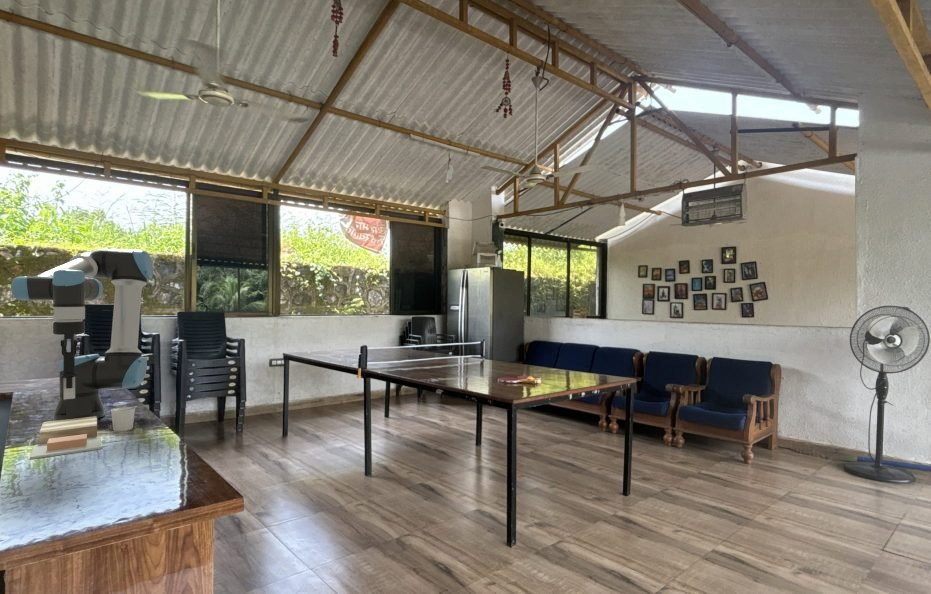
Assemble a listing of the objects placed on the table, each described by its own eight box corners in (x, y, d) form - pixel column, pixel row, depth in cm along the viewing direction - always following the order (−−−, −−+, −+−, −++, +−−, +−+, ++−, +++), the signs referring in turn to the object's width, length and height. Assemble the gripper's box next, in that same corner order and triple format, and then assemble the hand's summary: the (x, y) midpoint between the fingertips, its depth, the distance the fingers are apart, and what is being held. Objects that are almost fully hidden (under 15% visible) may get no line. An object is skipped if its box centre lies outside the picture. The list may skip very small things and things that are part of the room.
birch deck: (43, 434, 162) (43, 422, 162) (96, 427, 170) (96, 416, 170) (39, 445, 149) (39, 432, 149) (97, 438, 158) (97, 425, 158)
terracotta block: (46, 443, 142) (46, 451, 142) (86, 438, 148) (86, 445, 147) (48, 438, 147) (48, 446, 147) (86, 433, 152) (86, 441, 152)
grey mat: (34, 447, 148) (34, 445, 148) (100, 438, 157) (100, 436, 157) (29, 459, 137) (29, 457, 137) (101, 448, 146) (101, 446, 146)
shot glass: (113, 427, 171) (113, 407, 171) (136, 425, 174) (136, 405, 174) (108, 432, 165) (108, 411, 165) (133, 430, 168) (133, 409, 168)
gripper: (54, 320, 153) (54, 396, 153) (51, 322, 142) (51, 404, 143) (85, 319, 157) (85, 393, 157) (84, 321, 147) (84, 400, 147)
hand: (69, 398), depth 150 cm, fingers closed
